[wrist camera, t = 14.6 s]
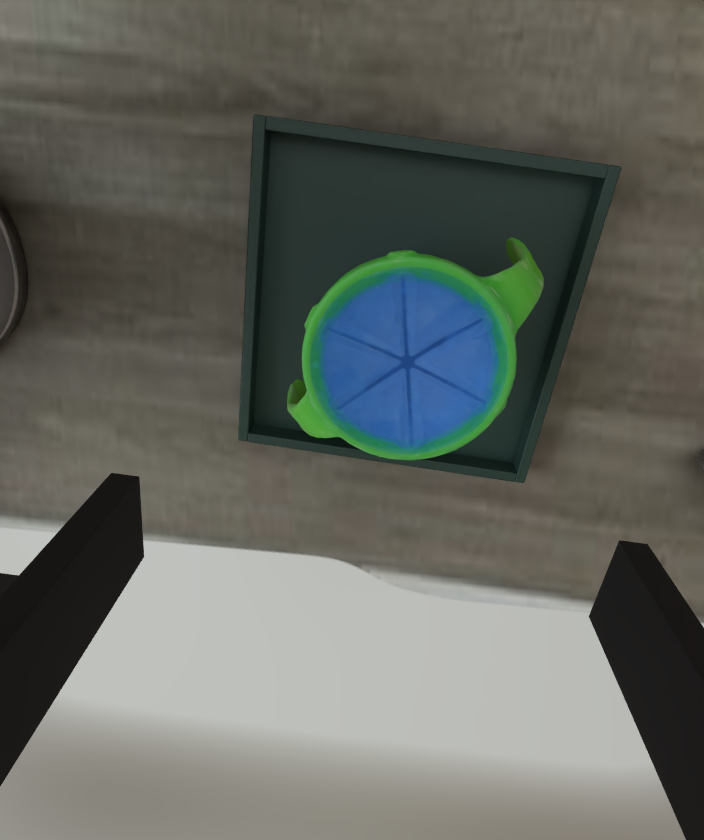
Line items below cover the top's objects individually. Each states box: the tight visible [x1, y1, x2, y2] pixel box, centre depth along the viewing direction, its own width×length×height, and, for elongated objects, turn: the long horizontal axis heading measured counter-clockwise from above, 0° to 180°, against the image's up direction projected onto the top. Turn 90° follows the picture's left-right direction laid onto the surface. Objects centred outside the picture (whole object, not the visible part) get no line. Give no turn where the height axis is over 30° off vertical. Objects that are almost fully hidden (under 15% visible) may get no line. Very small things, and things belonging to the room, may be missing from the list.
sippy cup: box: [287, 238, 544, 460], centre depth 31 cm, size 16×10×10 cm
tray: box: [238, 114, 621, 483], centre depth 36 cm, size 20×20×2 cm
